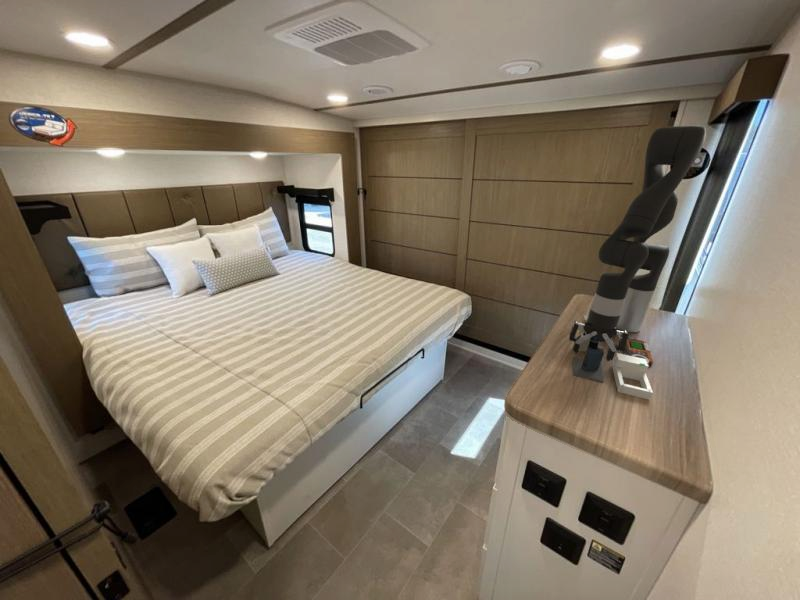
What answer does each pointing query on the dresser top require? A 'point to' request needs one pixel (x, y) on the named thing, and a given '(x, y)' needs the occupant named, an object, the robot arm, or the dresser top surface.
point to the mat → (586, 374)
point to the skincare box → (585, 343)
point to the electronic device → (638, 350)
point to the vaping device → (593, 356)
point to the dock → (631, 375)
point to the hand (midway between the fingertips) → (591, 356)
